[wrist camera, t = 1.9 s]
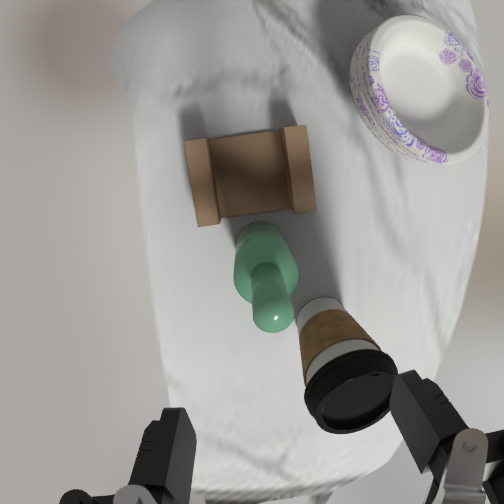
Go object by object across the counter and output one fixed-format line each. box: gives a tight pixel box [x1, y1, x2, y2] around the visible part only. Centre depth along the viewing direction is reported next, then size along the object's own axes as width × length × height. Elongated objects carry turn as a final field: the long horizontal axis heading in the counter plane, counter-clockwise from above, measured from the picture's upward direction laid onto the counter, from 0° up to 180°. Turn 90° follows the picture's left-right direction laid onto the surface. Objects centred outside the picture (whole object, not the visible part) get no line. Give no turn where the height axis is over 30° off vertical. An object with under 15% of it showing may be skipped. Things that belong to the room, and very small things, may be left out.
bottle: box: [234, 222, 299, 333], centre depth 24 cm, size 5×5×15 cm
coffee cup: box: [297, 297, 398, 434], centre depth 27 cm, size 8×8×15 cm
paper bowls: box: [350, 15, 489, 164], centre depth 23 cm, size 15×15×8 cm
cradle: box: [184, 125, 316, 227], centre depth 28 cm, size 8×11×3 cm
